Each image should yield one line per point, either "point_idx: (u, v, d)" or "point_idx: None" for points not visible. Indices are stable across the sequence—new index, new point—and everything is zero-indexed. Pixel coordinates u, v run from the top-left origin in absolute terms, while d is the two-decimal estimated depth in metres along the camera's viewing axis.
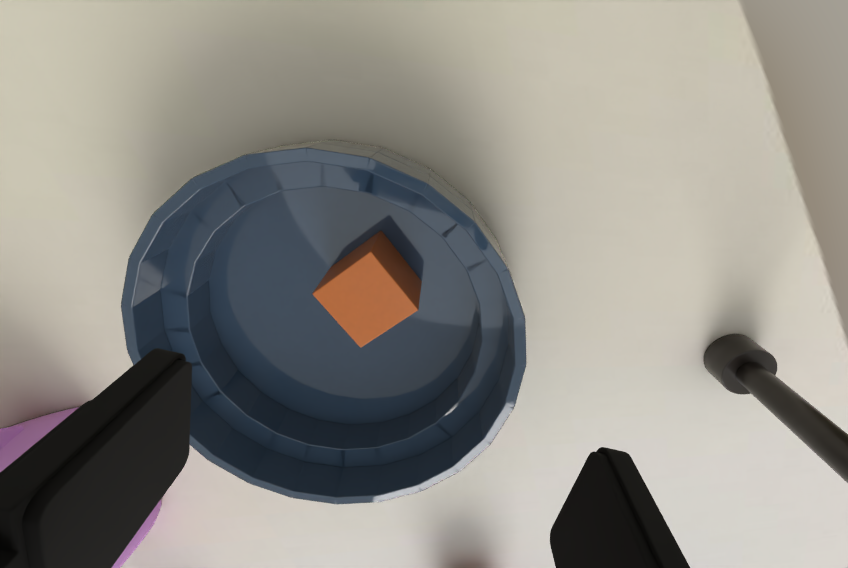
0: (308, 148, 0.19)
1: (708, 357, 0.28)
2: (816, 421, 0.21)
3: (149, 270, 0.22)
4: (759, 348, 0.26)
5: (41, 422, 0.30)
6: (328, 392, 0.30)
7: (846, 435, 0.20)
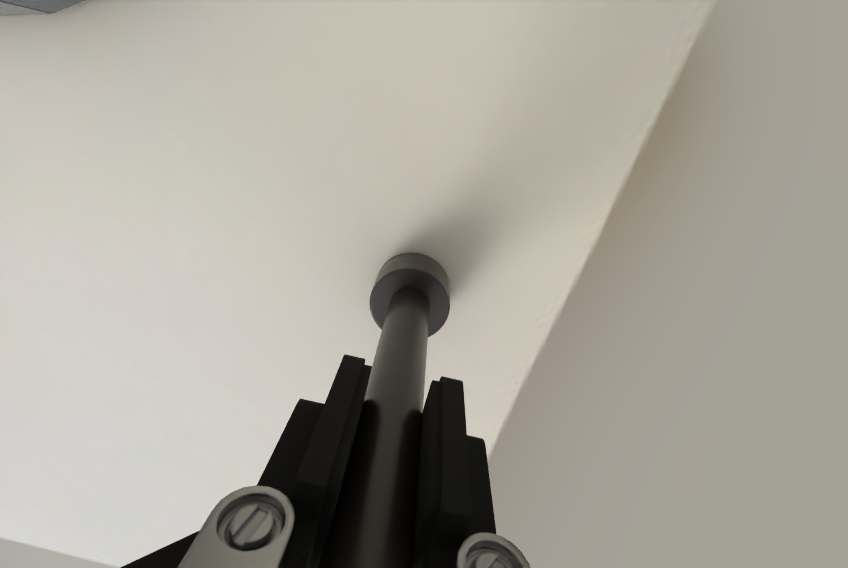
0: None
1: (389, 262, 0.18)
2: (407, 363, 0.12)
3: None
4: (445, 286, 0.17)
5: None
6: None
7: (419, 397, 0.11)
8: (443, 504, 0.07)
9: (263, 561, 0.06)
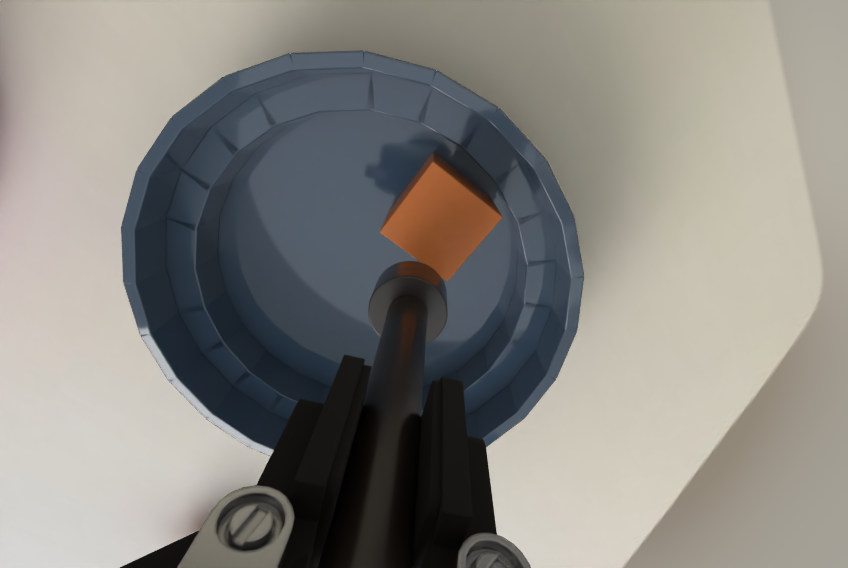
0: (546, 162, 0.17)
1: (387, 270, 0.18)
2: (405, 368, 0.12)
3: (283, 78, 0.17)
4: (443, 294, 0.17)
5: None
6: (279, 310, 0.26)
7: (418, 401, 0.11)
8: (443, 504, 0.07)
9: (263, 561, 0.06)
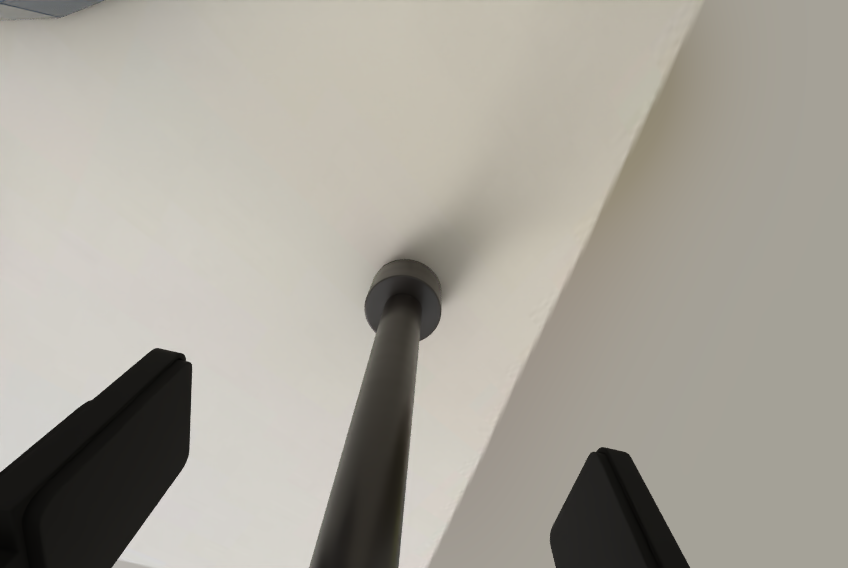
0: None
1: (383, 268, 0.19)
2: (398, 366, 0.13)
3: None
4: (436, 292, 0.18)
5: None
6: None
7: (409, 398, 0.12)
8: None
9: None
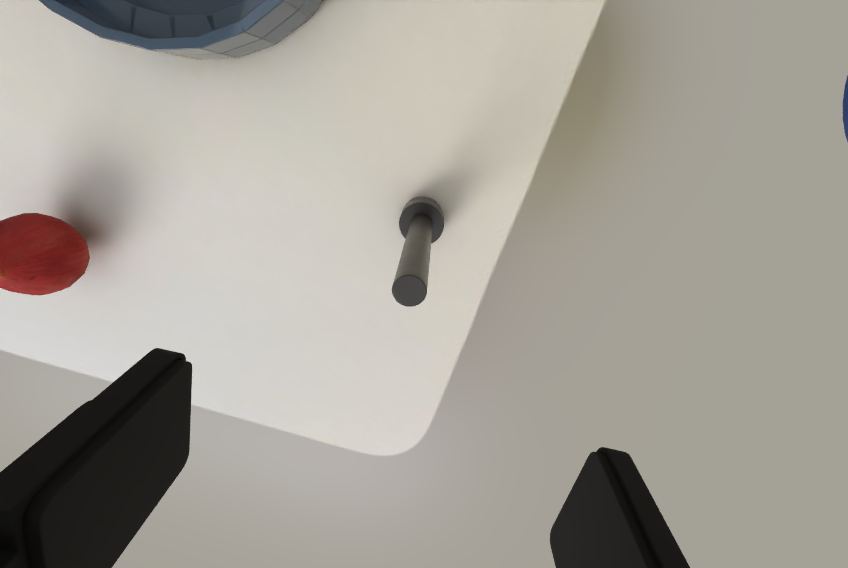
0: None
1: (409, 201, 0.32)
2: (422, 235, 0.26)
3: None
4: (441, 213, 0.31)
5: None
6: None
7: (428, 245, 0.25)
8: None
9: None
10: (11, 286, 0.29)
